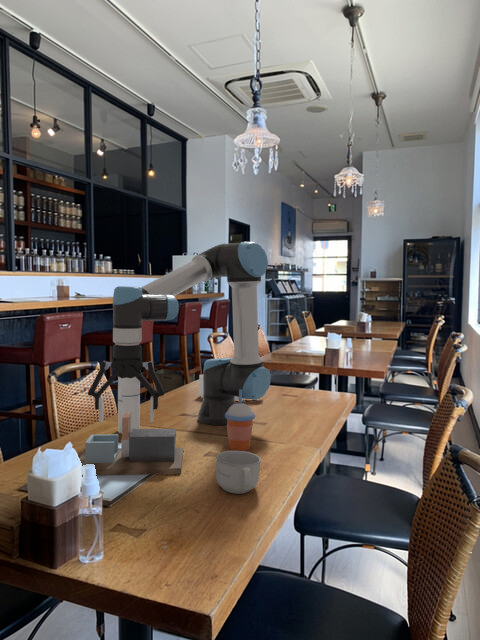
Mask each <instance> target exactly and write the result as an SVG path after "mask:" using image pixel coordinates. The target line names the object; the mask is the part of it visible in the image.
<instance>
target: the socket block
mask: <svg viewBox="0 0 480 640" xmlns="http://www.w3.org/2000/svg"><path fill="white" fill-rule="evenodd" d="M84 446H85V448H84V450H85V463H114V461H115V459H116V457H117V455H118V448H119V433H118V434H117V433H115V434H113V433H112V434H110V433H109V434H103V433H102V434H90V436H89V437H88V438H87V440H86V441H85V443H84Z"/></svg>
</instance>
